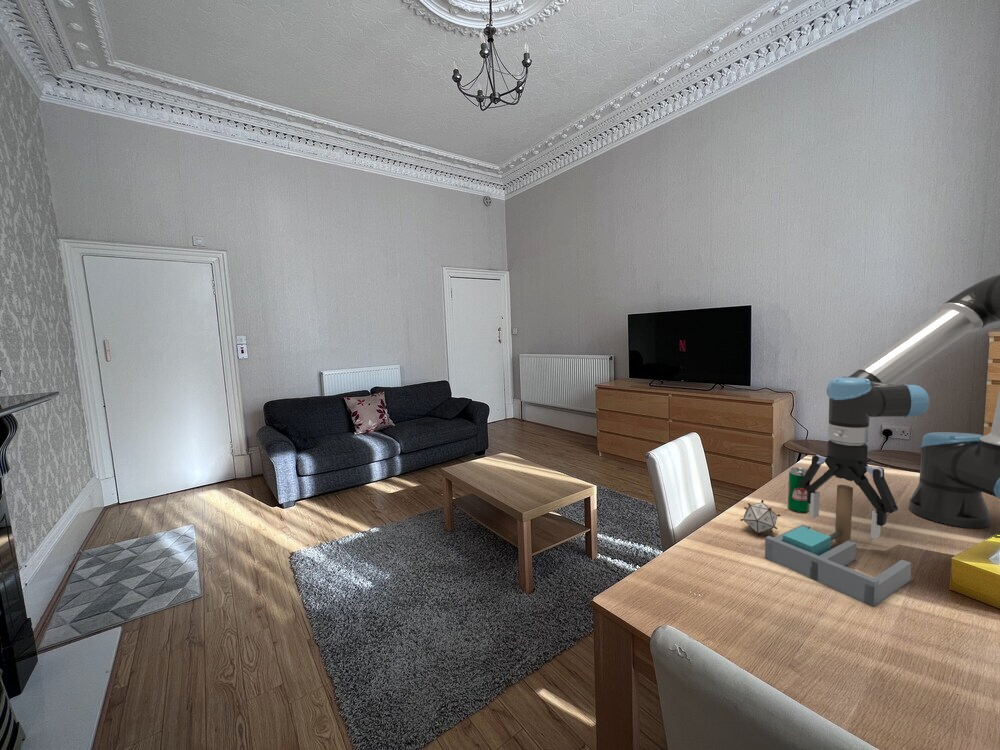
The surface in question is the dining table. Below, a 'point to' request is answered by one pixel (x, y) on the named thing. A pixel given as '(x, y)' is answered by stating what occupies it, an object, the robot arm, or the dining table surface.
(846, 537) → the teal block-headed stick
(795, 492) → the soda can
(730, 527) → the dining table surface
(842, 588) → the lane rack
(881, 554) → the dining table surface
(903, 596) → the dining table surface
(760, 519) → the game die
